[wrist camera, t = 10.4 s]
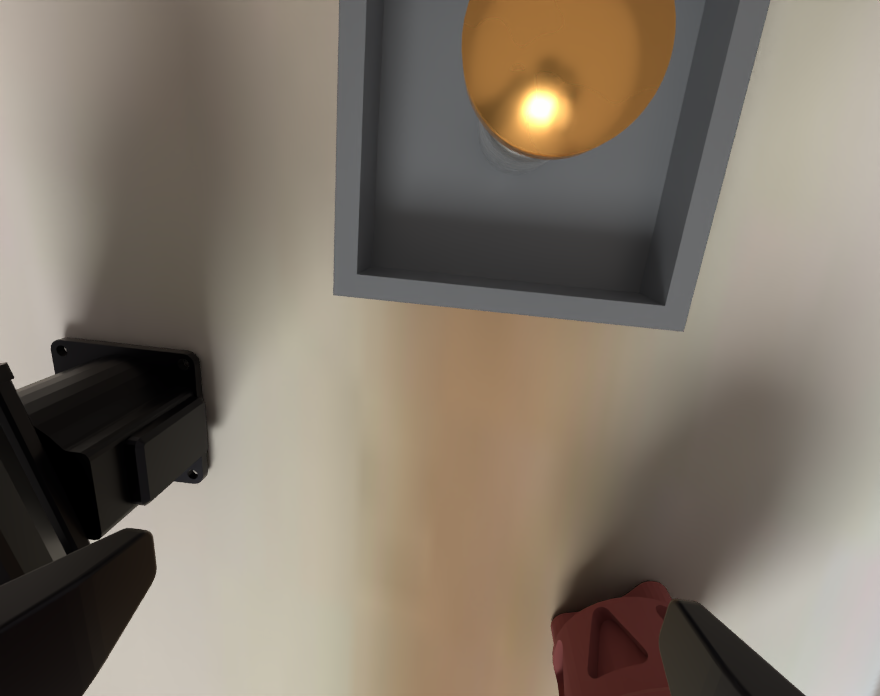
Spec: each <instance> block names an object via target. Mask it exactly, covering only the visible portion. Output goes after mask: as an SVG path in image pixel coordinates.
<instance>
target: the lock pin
mask: <svg viewBox="0 0 880 696" xmlns="http://www.w3.org/2000/svg"><path fill="white" fill-rule="evenodd" d="M675 30H676V12H675V0H469V3H468V6H467V10H466V14H465V18H464V24H463V31H462V61H463V72H464V80H465V85H466V90H467V94H468V97H469V100H470V103H471V105H472V107H473V109H474V111H475V113H476V115H477V117H478V119H479V131H478V136H479V144H480V147H481V150H482V153H483V155H484V157H485V158H486V160H487V161H488V162H489V163H490V164H491V165H492V166H493V167H494V168H496V169H497V170H499V171H501V172H503V173H507V174H512V175H520V174H525V173H529V172H531V171H533V170H535V169H537V168H539V167H540V166H541V165H543V164H544V163H546V162H547V161H549V160H557V159H565V158H570V157H574V156H577V155H580V154H583V153H585V152H588V151H590V150H592V149H594V148H596V147H598V146H600V145H602V144H603V143H605V142H607V141H609V140H611V139H612V138H614V137H615V136H617V135H618V134H620V133H621V132H622V131H624V130H625V129H626V128H627V127H628V126H629V125H630V124H632V123H633V122H634V121H635V120H636V119H637V118H638V117H639V115H640V114H641V113H642V112H643V111H644V110H645V108H646V107H647V106H648V104H649V103H650V101H651V100H652V98H653V97H654V95H655V94H656V92H657V90H658V88H659V86H660V84H661V82H662V81H663V78H664V76H665V73H666V71H667V68H668V65H669V62H670V58H671V55H672V51H673V46H674V39H675Z"/></svg>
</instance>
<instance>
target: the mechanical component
mask: <svg viewBox="0 0 880 696" xmlns="http://www.w3.org/2000/svg"><path fill="white" fill-rule="evenodd" d="M671 600H672V599H671V597H670V595H669V593H668V591H667V589H666V588H665V586H663V585H662V584H661V583H658V582H654V581H647V582H643V583H641V584H639V585H638V586H636V587H635V588H634V589H633V590H631V591H630V592H629V593H627V594H626V595H624V596H622V597H621V598H614V599H608V600H605V601H601V602H598V603H595V604H593V605H591V606H589V607H586V608H584V609H583V610H581V611H580V612H571V613H562V614H560V615H558V616H556V617H555V618H554V619H553V620H552V622H551V631H552V636H553V642H554V646H553V652H552V655H553V665H554V670H555V674H556V678H557V683H558V690H559V696H671V694H670V690H669V686H668V682H667V678H666V674H665V670H664V666H663V662H662V659H661V655H660V650H659V634H660V630H661V627H662V624H663V621H664V617H665V614H666V611H667V608H668V605H669V603H670V602H671Z"/></svg>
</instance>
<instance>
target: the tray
mask: <svg viewBox="0 0 880 696" xmlns="http://www.w3.org/2000/svg"><path fill="white" fill-rule="evenodd" d="M468 3H469V0H339V41H338V90H337V139H336V188H335V237H334V286H333V295H338V296H347V297H357V298H366V299H376V300H385V301H395V302H405V303H414V304H424V305H433V306H443V307H452V308H462V309H472V310H481V311H491V312H500V313H510V314H519V315H529V316H539V317H548V318H558V319H567V320H577V321H586V322H596V323H606V324H615V325H625V326H634V327H644V328H653V329H663V330H673V331H682V332H684V328H685V324H686V320H687V316H688V313H689V309H690V305H691V301H692V297H693V294H694V290H695V286H696V282H697V278H698V274H699V271H700V267H701V263H702V259H703V255H704V252H705V248H706V244H707V240H708V236H709V233H710V229H711V225H712V221H713V217H714V213H715V210H716V206H717V202H718V198H719V194H720V191H721V187H722V183H723V179H724V175H725V171H726V168H727V164H728V160H729V156H730V152H731V149H732V145H733V141H734V137H735V133H736V130H737V126H738V122H739V118H740V114H741V110H742V107H743V103H744V99H745V95H746V91H747V88H748V84H749V80H750V76H751V72H752V68H753V65H754V61H755V57H756V53H757V49H758V46H759V42H760V38H761V34H762V30H763V27H764V23H765V19H766V15H767V11H768V7H769V4H770V0H675V12H676V30H675V39H674V46H673V51H672V55H671V58H670V62H669V65H668V68H667V71H666V73H665V76H664V78H663V81H662V82H661V84H660V86H659V88H658V90H657V92H656V94H655V95H654V97H653V98H652V100H651V101H650V103H649V104H648V106H647V107H646V108H645V110H644V111H643V112H642V113H641V114H640V115H639V117H638V118H637V119H636V120H635V121H634V122H633V123H632V124H630V125H629V126H628V127H627V128H626V129H625V130H624V131H622V132H621V133H620V134H618V135H617V136H615V137H614V138H612V139H611V140H609V141H607V142H605V143H603V144H602V145H600V146H598V147H596V148H594V149H592V150H590V151H588V152H585V153H583V154H580V155H577V156H574V157H570V158H565V159H557V160H549V161H547V162H546V163H544V164H543V165H541V166H540V167H539V168H537V169H535V170H533V171H531V172H529V173H525V174H520V175H512V174H507V173H503V172H501V171H499V170H497V169H496V168H494V167H493V166H492V165H491V164H490V163H489V162H488V161H487V160H486V158H485V157H484V155H483V153H482V150H481V147H480V144H479V136H478V131H479V119H478V117H477V115H476V113H475V111H474V109H473V107H472V105H471V103H470V100H469V97H468V94H467V90H466V85H465V80H464V72H463V61H462V31H463V24H464V18H465V14H466V10H467V6H468Z"/></svg>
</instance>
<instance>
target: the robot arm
mask: <svg viewBox="0 0 880 696" xmlns="http://www.w3.org/2000/svg"><path fill="white" fill-rule="evenodd" d="M64 347H65V348H66V349H67V351H68V352H66V351H65V349H64ZM51 353H52V358H53V364H54V370H55V375H53V376H50V377H48V378H45V379H43V380H40V381H37V382H35V383H32V384H30V385H27V386H25V387H22V388H20V389H17V390H16V389H15V387H14V385H13V383H12V381H11V379H14V376H13V374H12V372H11V370H10V368H9V366H8V364H7V362H6V363H0V696H82V695H83V694H84V693H85V691H86V690H87V688H88V687H89V685H90V684H91V682H92V681H93V680H94V678H95V677H96V675H97V674H98V672H99V670H100V669H101V667H102V666H103V664H104V663H105V661H106V659H107V658H108V656H109V654H110V653H111V651H112V649H113V648H114V646H115V644H116V643H117V641H118V639H119V638H120V636H121V634H122V633H123V631H124V629H125V628H126V626H127V624H128V623H129V621H130V619H131V618H132V616H133V614H134V613H135V611H136V609H137V608H138V606H139V604H140V603H141V601H142V599H143V598H144V596H145V594H146V593H147V591H148V589H149V588H150V586H151V584H152V582H153V580H154V578H155V575H156V569H157V566H156V557H155V549H154V541H153V535H152V534H151V532H149V531H147V530H141V529H133V528H126V529H122V530H120V531H118V532H116V533H114V534H111V535H109V536H107V537H105V538H103V539H101V540H99V539H100V538H101V537H102V536H103V535H105V534H106V533H107V532H108V531H109V530H110V529H111V528H113V527H114V526H115V525H116V524H117V523H118V522H119V521H121V520H122V519H123V518H124V517H125V516H126V515H127V514H129V513H130V512H131V511H132V510H133V509H134V508H135V507H137V506H138V505H144V506H145V505H147V504H149V503H150V502H151V501H152V500H153V499H154V498H156V497H157V496H158V495H159V494H160V493H161V492H162V491H163V490H164V489H166V488H167V487H168V486H169V485H170V484H171V483H172V482H173V481H176V482H184V483H192V484H196V483H199V482H201V481H202V480H203V479H204V478H205V477H206V476H207V473H208V466H207V453H206V452H207V450H208V438H207V424H206V410H205V402H204V400H203V397H202V384H201V370H200V361H199V358H198V357H197V355H196V354H194V353H193V352H190V351H184V350H175V349H166V348H157V347H148V346H139V345H130V344H121V343H112V342H103V341H94V340H85V339H76V338H62V339H59V340H56V341H54V342H53V343H52V345H51ZM184 359H185V360H186V361H187V362H188V363H189V367H188V366H186V365H185V364H184V362H183V360H184ZM193 470H195V471H196V472H197V474H195V473H194V472H193ZM88 539H91V540H98V541H96V542H94V543H92V544H90V542H89V540H88ZM659 650H660V655H661V659H662V662H663V666H664V670H665V674H666V678H667V682H668V686H669V690H670V694H671V696H805V695H804V694H803V693H802V692H801V691H800V690H798V689H797V688H796V687H795V686H794V685H793V684H792V683H790V682H789V681H788V680H787V679H786V678H785V677H784V676H783V675H781V674H780V673H779V672H778V671H777V670H776V669H775V668H773V667H772V666H771V665H770V664H769V663H768V662H767V661H765V660H764V659H763V658H762V657H761V656H760V655H759V654H757V653H756V652H755V651H754V650H753V649H752V648H751V647H749V646H748V645H747V644H746V643H745V642H744V641H743V640H741V639H740V638H739V637H738V636H737V635H736V634H735V633H733V632H732V631H731V630H730V629H729V628H728V627H727V626H725V625H724V624H723V623H722V622H721V621H720V620H719V619H717V618H716V617H715V616H714V615H713V614H712V613H711V612H709V611H708V610H707V609H706V608H705V607H704V606H702V605H701V604H700V603H698V602H695V601H689V600H681V599H673V600H671V602H670V603H669V605H668V608H667V611H666V614H665V617H664V621H663V624H662V627H661V630H660V634H659Z"/></svg>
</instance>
